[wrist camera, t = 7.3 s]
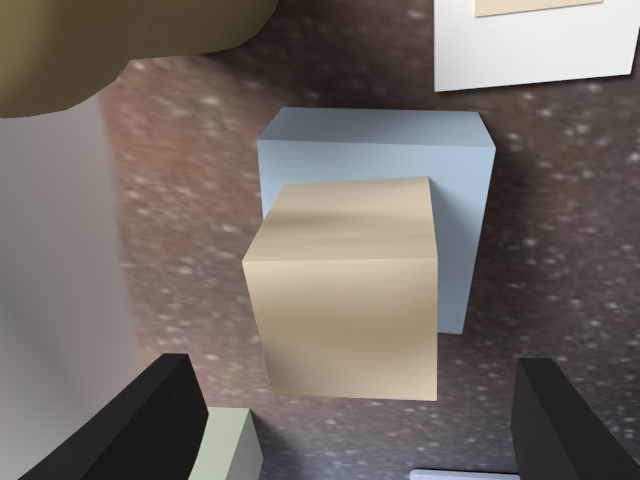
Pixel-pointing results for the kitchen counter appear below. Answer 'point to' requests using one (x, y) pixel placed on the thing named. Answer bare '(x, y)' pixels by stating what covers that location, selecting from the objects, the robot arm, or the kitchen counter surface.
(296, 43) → the kitchen counter surface
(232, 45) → the cork
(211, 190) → the kitchen counter surface
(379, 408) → the kitchen counter surface
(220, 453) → the sage green block
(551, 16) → the tile
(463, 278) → the blue base block
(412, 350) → the birch block
